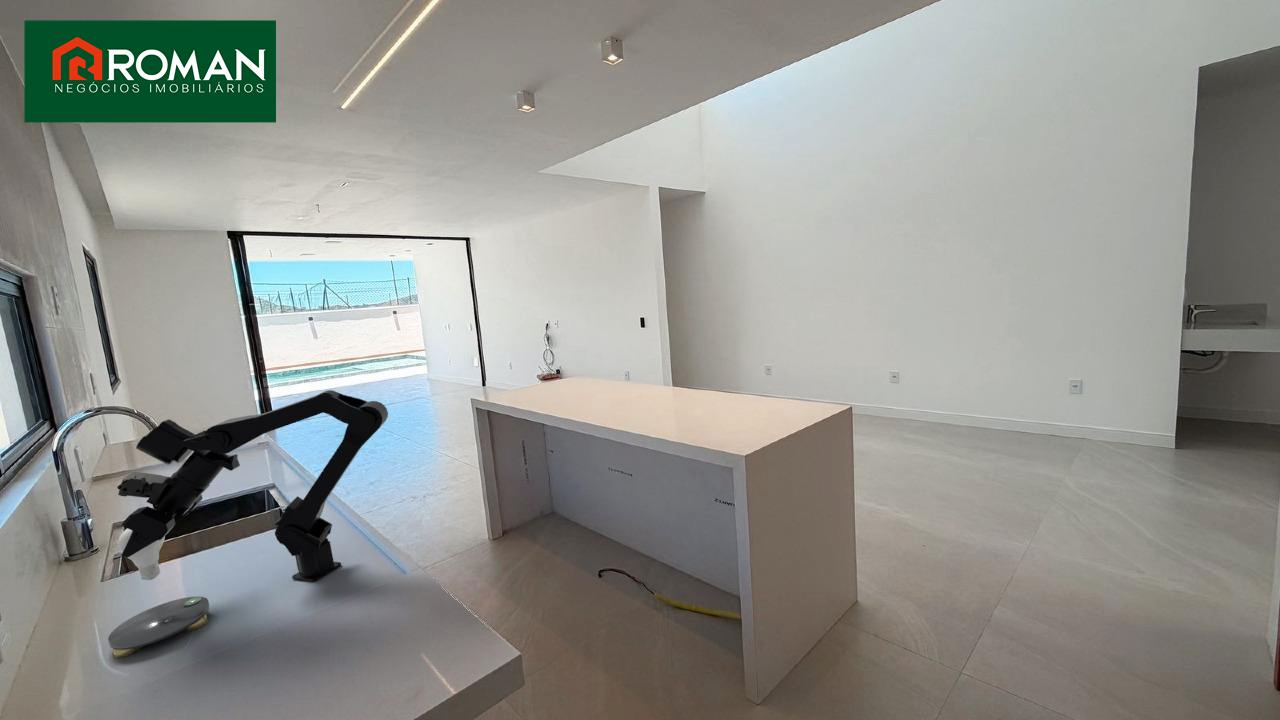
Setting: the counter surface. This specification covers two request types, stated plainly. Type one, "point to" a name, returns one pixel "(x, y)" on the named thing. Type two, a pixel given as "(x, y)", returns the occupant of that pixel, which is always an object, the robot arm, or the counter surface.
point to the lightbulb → (143, 556)
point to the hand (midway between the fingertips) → (133, 548)
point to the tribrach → (158, 624)
